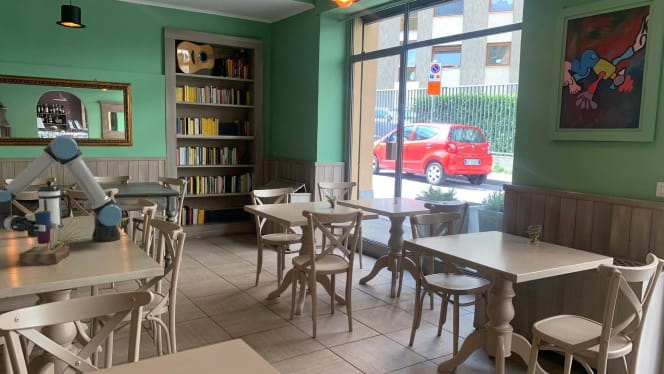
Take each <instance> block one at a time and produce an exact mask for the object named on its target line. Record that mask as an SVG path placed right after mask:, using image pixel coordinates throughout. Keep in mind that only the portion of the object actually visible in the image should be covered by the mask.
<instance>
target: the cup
mask: <svg viewBox="0 0 664 374" xmlns="http://www.w3.org/2000/svg"><path fill="white" fill-rule="evenodd" d="M33 214H35V222H36V225H44V226H45V229H46V231H37V236H36V237H37V244H38V245H45V244H46V245H47V244H50V243H51V228H50V220H51V212H50V211H40V210H39V211H35V212H34V213H33Z"/></svg>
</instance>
